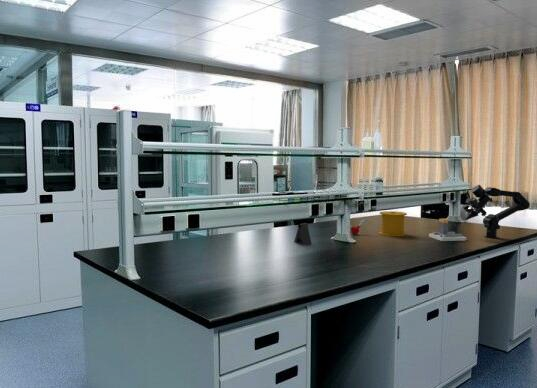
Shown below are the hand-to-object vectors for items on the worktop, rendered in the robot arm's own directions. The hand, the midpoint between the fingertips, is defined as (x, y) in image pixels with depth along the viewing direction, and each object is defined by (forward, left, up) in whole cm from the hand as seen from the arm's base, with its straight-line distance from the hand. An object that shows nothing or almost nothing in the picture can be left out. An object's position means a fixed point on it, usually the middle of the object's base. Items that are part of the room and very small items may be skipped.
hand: (465, 219), depth 287 cm
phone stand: (+105, -35, -13) cm, 111 cm away
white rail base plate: (+12, -4, -12) cm, 18 cm away
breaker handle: (+15, -5, -10) cm, 19 cm away
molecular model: (+57, -43, -13) cm, 72 cm away
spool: (+32, -33, -13) cm, 48 cm away
